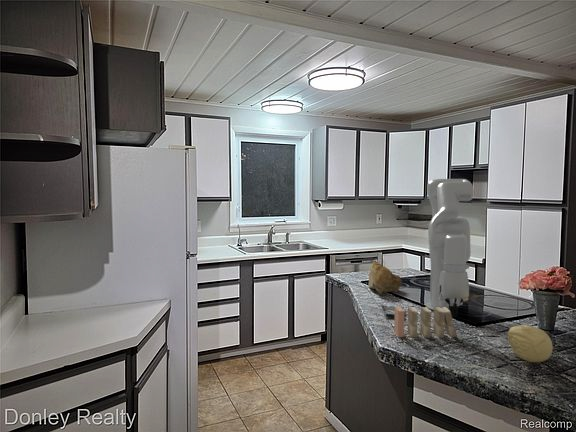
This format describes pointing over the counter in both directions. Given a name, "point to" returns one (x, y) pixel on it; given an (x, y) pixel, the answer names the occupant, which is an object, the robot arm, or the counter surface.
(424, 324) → the domino
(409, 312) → the domino
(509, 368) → the counter surface
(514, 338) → the yellow oval melon
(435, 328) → the domino
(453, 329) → the domino
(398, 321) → the domino
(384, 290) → the rough brown rock
